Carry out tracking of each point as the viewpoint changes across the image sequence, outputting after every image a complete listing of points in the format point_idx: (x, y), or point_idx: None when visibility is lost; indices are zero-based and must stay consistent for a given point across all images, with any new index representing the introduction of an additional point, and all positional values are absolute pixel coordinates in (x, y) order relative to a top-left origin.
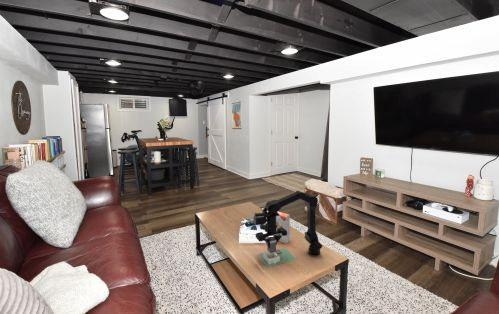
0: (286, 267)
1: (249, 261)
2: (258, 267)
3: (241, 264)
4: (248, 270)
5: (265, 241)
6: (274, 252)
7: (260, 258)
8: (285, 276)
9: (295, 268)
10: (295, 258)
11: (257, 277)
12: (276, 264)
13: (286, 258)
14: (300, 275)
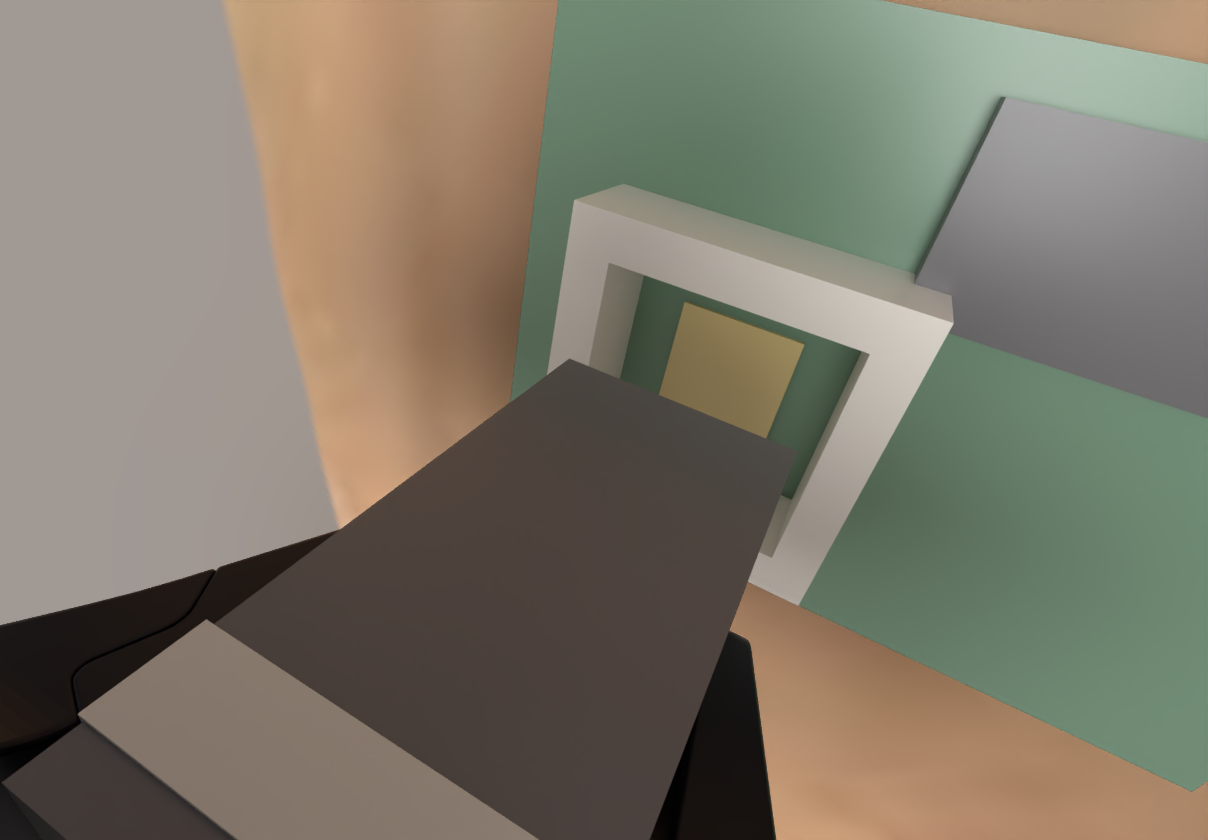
0: (801, 651)
1: (371, 27)
2: (437, 312)
3: (229, 21)
4: (292, 257)
5: (120, 610)
6: (891, 383)
7: (549, 161)
8: None
9: (893, 766)
10: (1202, 769)
11: (349, 449)
12: None
13: (1031, 610)
14: (797, 835)
